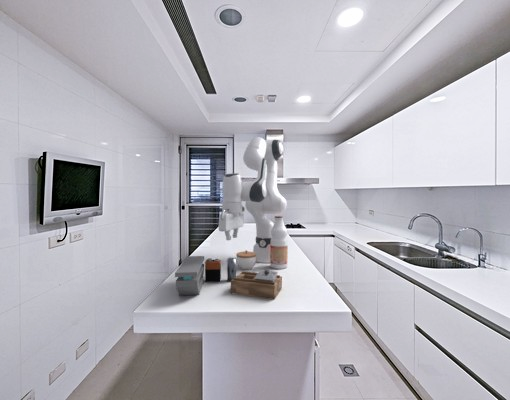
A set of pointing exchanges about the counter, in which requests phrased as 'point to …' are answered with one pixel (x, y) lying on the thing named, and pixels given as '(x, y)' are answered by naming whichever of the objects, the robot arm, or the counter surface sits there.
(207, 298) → the counter surface
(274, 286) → the socket block
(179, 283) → the grey storage box
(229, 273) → the grey rounded cylinder
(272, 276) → the square lid with knob
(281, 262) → the fruit juice
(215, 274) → the battery
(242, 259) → the lidded jar
